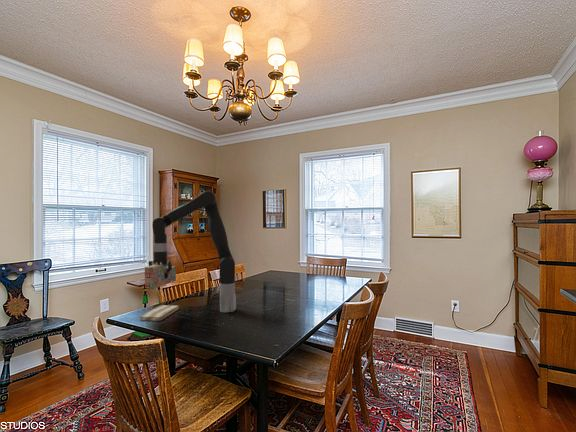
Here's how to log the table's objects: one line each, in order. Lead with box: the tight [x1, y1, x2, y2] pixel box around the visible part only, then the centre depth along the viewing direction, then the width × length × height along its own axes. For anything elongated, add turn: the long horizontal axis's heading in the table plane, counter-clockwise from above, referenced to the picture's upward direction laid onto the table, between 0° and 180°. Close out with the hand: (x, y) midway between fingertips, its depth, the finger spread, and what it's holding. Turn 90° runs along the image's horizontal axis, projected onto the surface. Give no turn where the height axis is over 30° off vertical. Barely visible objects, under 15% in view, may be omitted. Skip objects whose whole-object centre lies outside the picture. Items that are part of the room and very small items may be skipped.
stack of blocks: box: [144, 263, 177, 290], centre depth 178 cm, size 21×6×12 cm, turn 169°
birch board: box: [139, 304, 180, 322], centre depth 178 cm, size 12×22×2 cm, turn 174°
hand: (160, 278), depth 178 cm, fingers closed on stack of blocks, 6 cm apart
